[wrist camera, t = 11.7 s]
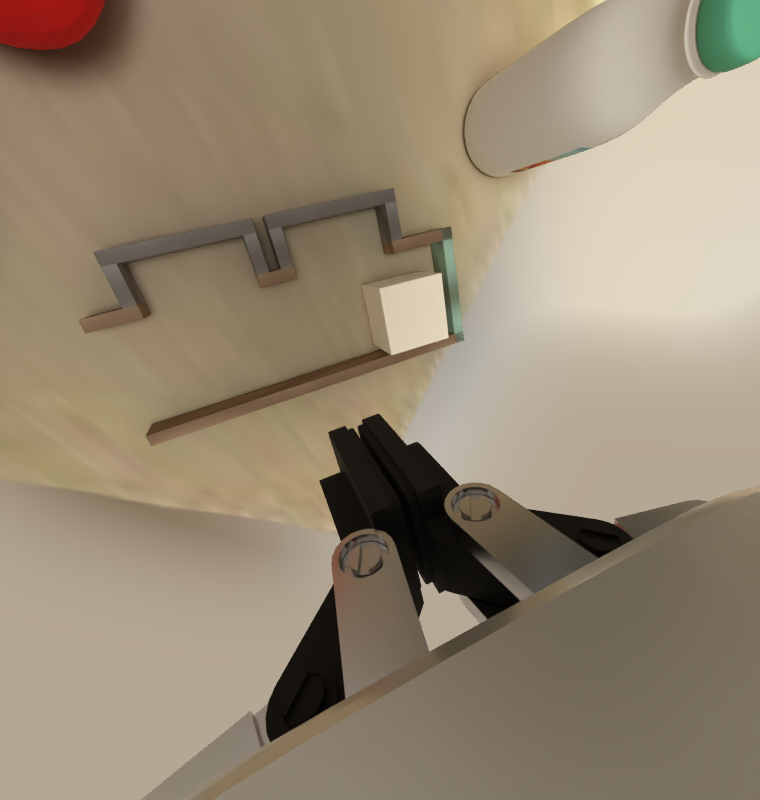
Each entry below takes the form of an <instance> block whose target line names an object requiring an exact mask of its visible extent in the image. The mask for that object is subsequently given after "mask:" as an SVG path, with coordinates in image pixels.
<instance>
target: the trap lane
mask: <svg viewBox="0 0 760 800" xmlns="http://www.w3.org/2000/svg"><path fill="white" fill-rule="evenodd" d="M371 208H375V209H376V214H377V219H378V224H379V229H380V234H381V240H382V245H383V250H384V254H393V253H398V252H402V251H406V250H409V249H413V248H417V247H421V246H425V245H429V244H431V250H432V257H433V264H434V271H435V273H442V282H443V291H444V300H445V309H446V318H447V327H448V336H449V338H447V339H443V340H440V341H437V342H434V343H430V344H427V345H424V346H420V347H417V348H414V349H411V350H407V351H404V352H401V353H398V354H394V355H390V354H389V353H387V352H385V351H384V350H379V351H376V352H372V353H369V354H366V355H363V356H360V357H357V358H354V359H351V360H348V361H345V362H342V363H339V364H336V365H333V366H329V367H326V368H323V369H320V370H317V371H314V372H311V373H308V374H305V375H302V376H299V377H296V378H293V379H290V380H286V381H283V382H280V383H277V384H274V385H271V386H268V387H265V388H262V389H259V390H256V391H253V392H250V393H247V394H243V395H240V396H237V397H234V398H231V399H228V400H225V401H222V402H219V403H216V404H213V405H210V406H207V407H204V408H200V409H197V410H194V411H191V412H188V413H185V414H182V415H179V416H176V417H173V418H170V419H167V420H164V421H161V422H157V423H154V424H152V425H151V427H150V429H149V431H148V433H147V435H146V438H147V439H148V441H149V443H150V445H151V446H153V445H156V444H159V443H162V442H165V441H168V440H171V439H174V438H176V437H179V436H182V435H185V434H188V433H191V432H194V431H197V430H200V429H203V428H206V427H209V426H212V425H215V424H218V423H221V422H224V421H227V420H230V419H233V418H236V417H239V416H241V415H244V414H247V413H250V412H253V411H256V410H259V409H262V408H265V407H268V406H271V405H274V404H277V403H280V402H283V401H286V400H289V399H292V398H295V397H298V396H301V395H303V394H306V393H309V392H312V391H315V390H318V389H321V388H324V387H327V386H330V385H333V384H336V383H339V382H342V381H345V380H348V379H351V378H354V377H357V376H360V375H363V374H365V373H368V372H371V371H374V370H377V369H380V368H383V367H386V366H389V365H392V364H395V363H398V362H401V361H404V360H407V359H410V358H413V357H416V356H419V355H422V354H425V353H427V352H430V351H433V350H436V349H439V348H442V347H445V346H448V345H451V344H454V343H457V342H460V341H463V340H464V335H463V327H462V318H461V309H460V301H459V292H458V283H457V274H456V266H455V257H454V248H453V240H452V231H451V227H446V228H440V229H435V230H431V231H427V232H423V233H419V234H415V235H411V236H407V237H403V238H402V235H401V229H400V223H399V217H398V211H397V206H396V200H395V194H394V188H392V189H387V190H382V191H378V192H373V193H368V194H363V195H359V196H354V197H349V198H345V199H340V200H335V201H331V202H326V203H321V204H317V205H312V206H307V207H302V208H298V209H293V210H288V211H284V212H279V213H274V214H270V215H265V216H264V217H263V222H264V225H265V228H266V232H267V235H268V238H269V241H270V244H271V247H272V250H273V254H274V257H275V260H276V263H277V266H278V269H275V270H271V271H269V270H268V267H267V264H266V261H265V258H264V255H263V252H262V249H261V246H260V243H259V240H258V237H257V234H256V231H255V228H254V225H253V222H252V219H246V220H241V221H237V222H232V223H227V224H223V225H218V226H213V227H209V228H204V229H199V230H194V231H190V232H185V233H180V234H176V235H171V236H166V237H162V238H157V239H152V240H148V241H143V242H138V243H133V244H129V245H124V246H119V247H115V248H110V249H105V250H101V251H96V252H93V253H94V255H95V257H96V259H97V261H98V262H99V264H100V266H101V268H102V270H103V272H104V274H105V276H106V278H107V280H108V282H109V283H110V285H111V287H112V289H113V291H114V293H115V295H116V297H117V299H118V301H119V303H120V305H121V306H122V308H119V309H115V310H111V311H107V312H103V313H99V314H95V315H91V316H88V317H86V318H83V319H80V320H78V321H79V323H80V325H81V326H82V328H83V330H84V332H85V333H90V332H94V331H98V330H102V329H105V328H109V327H113V326H117V325H121V324H125V323H128V322H132V321H136V320H140V319H144V318H146V317H147V316H149V315H150V314H151V313H150V311H149V309H148V307H147V305H146V303H145V301H144V299H143V297H142V295H141V293H140V291H139V289H138V287H137V285H136V283H135V281H134V279H133V277H132V275H131V273H130V270H129V268H128V266H127V264H126V263H130V262H134V261H139V260H143V259H148V258H152V257H157V256H161V255H166V254H170V253H174V252H179V251H183V250H188V249H192V248H197V247H201V246H206V245H210V244H215V243H219V242H224V241H228V240H233V239H237V238H241V237H243V239H244V242H245V245H246V248H247V251H248V254H249V256H250V259H251V262H252V265H253V268H254V271H255V274H256V277H257V279H258V282H259V285H260V287H261V288H263V287H267V286H271V285H275V284H279V283H282V282H286V281H290V280H294V279H297V278H296V274H295V271H294V268H293V264H292V261H291V258H290V254H289V251H288V248H287V244H286V241H285V238H284V234H283V231H282V228H286V227H291V226H295V225H299V224H304V223H308V222H313V221H317V220H322V219H326V218H331V217H335V216H340V215H344V214H349V213H353V212H358V211H362V210H366V209H371Z"/></svg>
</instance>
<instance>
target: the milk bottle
mask: <svg viewBox="0 0 760 800" xmlns="http://www.w3.org/2000/svg"><path fill="white" fill-rule="evenodd" d="M759 57H760V0H607V1H605V2H603V3H601V4H599V5H597V6H595V7H593V8H592V9H590V10H588V11H587V12H585V13H584V14H582V15H581V16H579V17H578V18H576V19H575V20H573V21H572V22H570V23H568V24H567V25H565V26H564V27H563V28H561V29H560V30H558V31H557V32H556V33H554V34H553V35H551V36H550V37H548V38H547V39H546V40H544V41H543V42H541V43H540V44H538V45H537V46H536V47H534V48H533V49H531V50H530V51H529V52H527V53H526V54H524V55H523V56H522V57H520V58H519V59H517V60H516V61H515V62H513V63H512V64H511V65H509V66H508V67H506V68H505V69H504V70H502V71H501V72H499V73H498V74H497V75H495V76H494V77H493V78H491V79H490V80H489V81H488V82H486V83H485V84H484V85H483V86H482V87H481V88H480V89H479V90H478V91H477V92H476V94H475V95H474V97H473V99H472V101H471V103H470V105H469V108H468V112H467V115H466V120H465V126H464V128H465V134H464V136H465V143H466V147H467V151H468V154H469V156H470V158H471V160H472V161H473V163H474V164H475V166H476V167H477V168H478V169H480V170H481V171H482V172H484V173H485V174H487V175H490V176H493V177H503V176H507V175H511V174H514V173H517V172H521V171H524V170H527V169H530V168H533V167H536V166H540V165H543V164H546V163H549V162H552V161H555V160H558V159H561V158H564V157H567V156H570V155H574V154H577V153H579V152H583V151H585V150H588V149H591V148H593V147H596V146H599V145H601V144H604V143H607V142H608V141H611V140H613V139H615V138H617V137H619V136H621V135H622V134H624V133H625V132H627V131H629V130H630V129H632V128H633V127H635V126H636V125H637V124H639V123H640V122H641V121H643V120H644V119H645V118H646V117H647V116H648V115H650V114H651V113H652V112H653V111H654V110H655V109H656V108H657V107H659V106H660V105H661V104H662V103H663V102H664V101H665V100H666V99H668V98H669V97H670V96H671V95H673V94H674V93H675V92H676V91H678V90H679V89H681V88H682V87H684V86H685V85H687V84H688V83H690V82H691V81H693V80H695V79H696V78H698V77H700V78H704V79H706V78H712V77H714V76H716V75H718V74H719V73H721V72H727V71H730V70H733V69H735V68H738V67H741V66H743V65H745V64H748V63H750V62H752V61H754V60H756V59H757V58H759Z"/></svg>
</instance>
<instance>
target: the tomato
mask: <svg viewBox="0 0 760 800" xmlns="http://www.w3.org/2000/svg"><path fill="white" fill-rule="evenodd" d="M104 3H105V0H0V43H1V44H5V45H9V46H13V47H18V48H25V49H36V50H49V49H60V48H64V47H67V46H69V45H71V44H74V43H76V42H79V41H80V40H81V39H82V38H83V37H84V36H85V35H86V34H87V33H88V32H89V31H90V30H91V29H92V28H93V27H94V25H95V23H96V21H97V19H98V17H99V16H100V14H101V12H102V10H103V8H104Z"/></svg>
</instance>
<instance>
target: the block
mask: <svg viewBox="0 0 760 800" xmlns="http://www.w3.org/2000/svg"><path fill="white" fill-rule="evenodd" d="M362 288H363V293H364V298H365V303H366V308H367V313H368V318H369V323H370V327H371V332H372V337H373V342H374V345H376V346H377V347H379V348H381V349H382V350H384V351H385V352H387V353H389V354H390V355H394V354H398V353H401V352H404V351H407V350H411V349H414V348H417V347H420V346H424V345H427V344H430V343H434V342H437V341H440V340H443V339H447V338H449V336H448V327H447V318H446V309H445V300H444V291H443V282H442V273H435V272H418V271H417V272H413V273H409V274H405V275H401V276H397V277H393V278H389V279H385V280H381V281H377V282H373V283H369V284H365V285H362Z"/></svg>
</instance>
